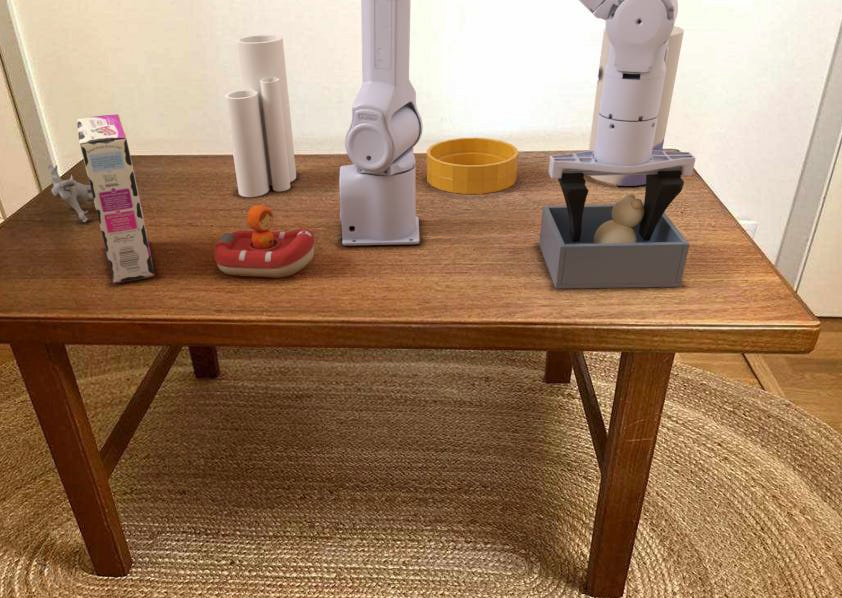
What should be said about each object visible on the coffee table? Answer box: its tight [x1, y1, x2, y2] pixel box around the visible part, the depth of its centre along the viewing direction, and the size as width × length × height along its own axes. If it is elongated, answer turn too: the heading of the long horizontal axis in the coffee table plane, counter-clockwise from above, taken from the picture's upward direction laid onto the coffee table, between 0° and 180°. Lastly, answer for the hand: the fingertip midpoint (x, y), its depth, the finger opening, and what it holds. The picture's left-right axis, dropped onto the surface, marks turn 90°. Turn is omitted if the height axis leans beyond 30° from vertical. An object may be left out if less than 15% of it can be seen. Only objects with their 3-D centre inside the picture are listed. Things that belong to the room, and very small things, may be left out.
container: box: [588, 25, 685, 187], centre depth 101 cm, size 10×10×20 cm
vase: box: [224, 34, 297, 198], centre depth 104 cm, size 11×7×20 cm, turn 166°
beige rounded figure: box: [594, 193, 644, 244], centre depth 81 cm, size 5×5×8 cm
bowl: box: [426, 137, 520, 195], centre depth 105 cm, size 13×13×4 cm
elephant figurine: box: [47, 163, 94, 223], centre depth 102 cm, size 10×6×9 cm
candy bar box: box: [76, 114, 156, 284], centre depth 84 cm, size 11×5×16 cm, turn 21°
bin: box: [538, 203, 691, 290], centre depth 81 cm, size 13×11×5 cm
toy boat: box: [214, 204, 315, 279], centre depth 83 cm, size 8×12×8 cm, turn 81°
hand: (609, 237), depth 81 cm, fingers open, 7 cm apart
